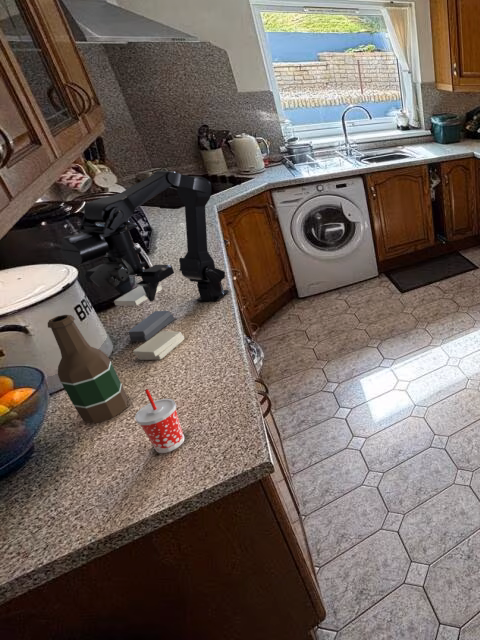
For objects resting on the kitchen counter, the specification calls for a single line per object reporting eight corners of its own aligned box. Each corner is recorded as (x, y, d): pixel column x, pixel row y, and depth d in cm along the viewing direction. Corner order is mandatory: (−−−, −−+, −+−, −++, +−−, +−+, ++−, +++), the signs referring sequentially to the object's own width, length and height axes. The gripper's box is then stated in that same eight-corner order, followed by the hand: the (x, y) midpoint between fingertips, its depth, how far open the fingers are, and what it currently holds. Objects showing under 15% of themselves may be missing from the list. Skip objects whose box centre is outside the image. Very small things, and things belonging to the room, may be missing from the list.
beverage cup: (180, 453, 81) (155, 399, 75) (144, 458, 79) (116, 403, 74) (194, 429, 86) (173, 376, 80) (161, 433, 85) (137, 380, 79)
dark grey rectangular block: (160, 319, 123) (156, 310, 122) (175, 319, 123) (172, 310, 122) (129, 341, 113) (125, 331, 111) (146, 341, 113) (142, 331, 112)
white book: (142, 289, 116) (140, 284, 116) (162, 289, 117) (160, 284, 116) (115, 305, 108) (113, 300, 108) (136, 305, 108) (135, 301, 108)
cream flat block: (162, 339, 114) (159, 330, 113) (185, 338, 114) (182, 330, 113) (135, 361, 105) (131, 352, 104) (159, 360, 106) (156, 352, 104)
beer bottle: (89, 430, 85) (36, 334, 75) (76, 414, 89) (24, 321, 79) (136, 406, 91) (92, 315, 81) (122, 393, 95) (79, 304, 85)
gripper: (52, 261, 99) (79, 316, 105) (131, 262, 99) (153, 316, 106) (94, 243, 109) (116, 295, 115) (166, 244, 110) (183, 295, 116)
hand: (141, 300), depth 113 cm, fingers closed on white book, 5 cm apart
